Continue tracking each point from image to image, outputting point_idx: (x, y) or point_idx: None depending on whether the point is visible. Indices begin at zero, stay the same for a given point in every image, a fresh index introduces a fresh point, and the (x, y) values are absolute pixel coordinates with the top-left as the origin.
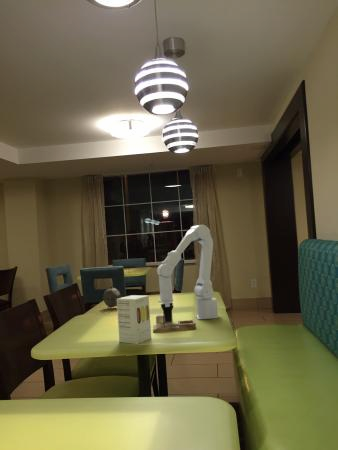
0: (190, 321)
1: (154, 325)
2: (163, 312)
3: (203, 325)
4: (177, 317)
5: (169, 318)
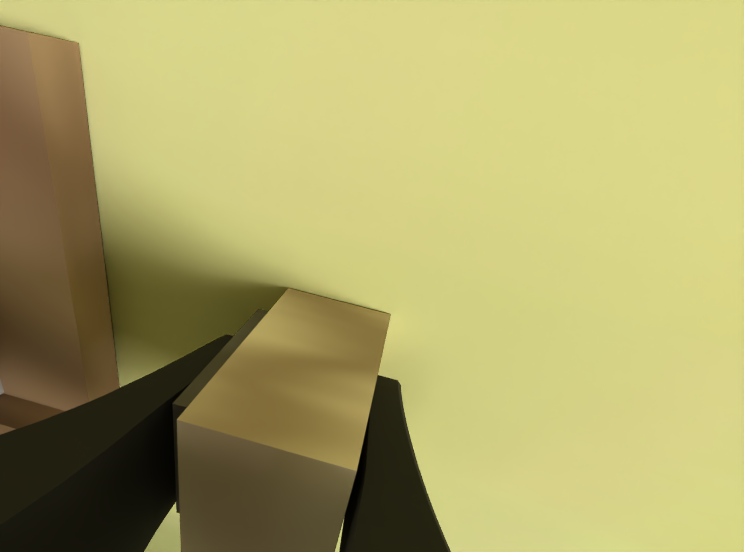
0: None
1: (6, 61)
2: (257, 447)
3: None
4: (592, 546)
5: None
